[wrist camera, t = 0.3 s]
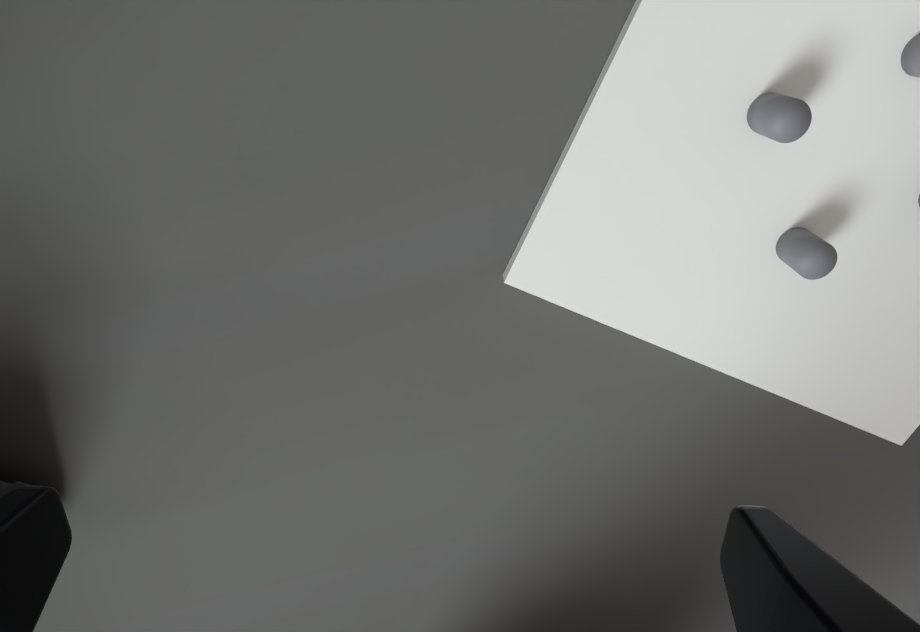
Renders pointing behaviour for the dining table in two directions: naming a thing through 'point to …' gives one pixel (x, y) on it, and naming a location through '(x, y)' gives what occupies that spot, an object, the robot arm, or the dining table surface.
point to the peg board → (751, 199)
